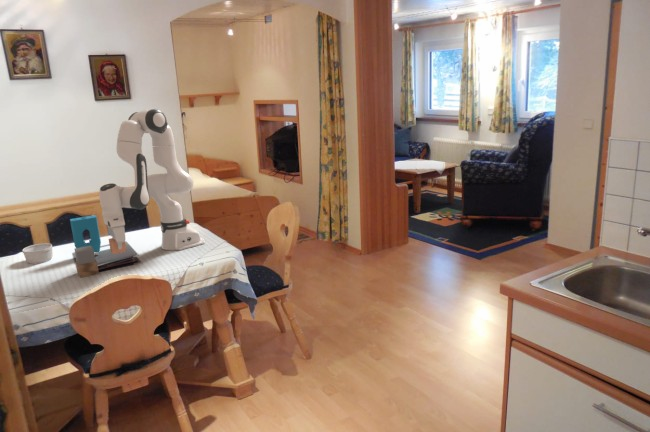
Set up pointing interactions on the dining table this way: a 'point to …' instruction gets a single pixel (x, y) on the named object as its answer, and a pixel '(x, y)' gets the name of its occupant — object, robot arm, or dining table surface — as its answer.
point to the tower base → (87, 269)
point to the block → (92, 226)
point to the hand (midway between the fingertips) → (118, 246)
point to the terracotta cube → (114, 247)
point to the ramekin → (38, 253)
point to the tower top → (85, 255)
